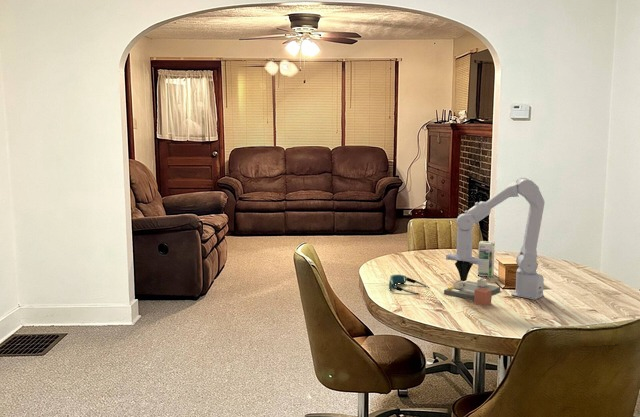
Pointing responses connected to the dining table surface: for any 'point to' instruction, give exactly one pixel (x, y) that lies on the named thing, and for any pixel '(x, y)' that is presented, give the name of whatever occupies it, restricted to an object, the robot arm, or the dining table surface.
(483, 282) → the breaker switch
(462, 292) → the breaker panel
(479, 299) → the block
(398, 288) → the sunglasses
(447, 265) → the dining table surface
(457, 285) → the tagged breaker switch
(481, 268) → the syrup box
